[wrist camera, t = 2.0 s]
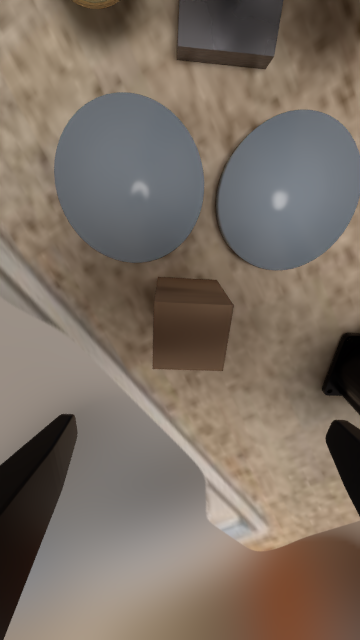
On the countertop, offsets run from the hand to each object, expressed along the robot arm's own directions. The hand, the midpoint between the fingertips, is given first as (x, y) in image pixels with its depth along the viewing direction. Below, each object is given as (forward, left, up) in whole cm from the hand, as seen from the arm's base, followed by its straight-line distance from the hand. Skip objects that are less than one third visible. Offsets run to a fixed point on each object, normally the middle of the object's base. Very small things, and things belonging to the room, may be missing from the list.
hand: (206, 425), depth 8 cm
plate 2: (+8, -6, -12) cm, 15 cm away
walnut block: (0, 0, -12) cm, 12 cm away
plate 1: (+8, +4, -12) cm, 15 cm away
